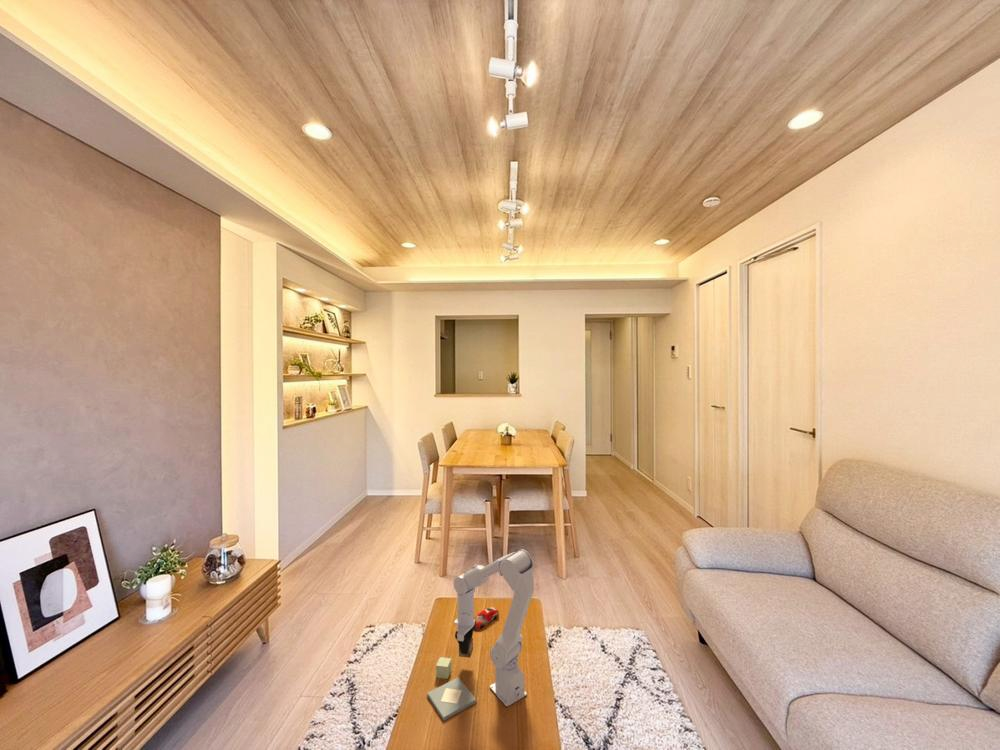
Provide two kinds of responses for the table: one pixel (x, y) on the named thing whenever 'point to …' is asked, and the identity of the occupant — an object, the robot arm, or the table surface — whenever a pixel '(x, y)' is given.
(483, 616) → the race car
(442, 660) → the sage cube
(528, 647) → the table surface
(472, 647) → the walnut cube
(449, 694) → the baseplate
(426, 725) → the table surface
